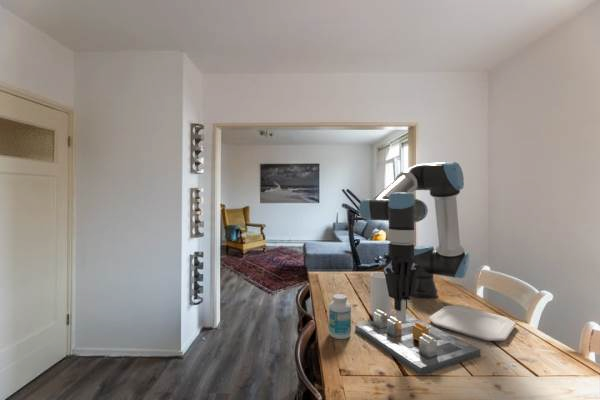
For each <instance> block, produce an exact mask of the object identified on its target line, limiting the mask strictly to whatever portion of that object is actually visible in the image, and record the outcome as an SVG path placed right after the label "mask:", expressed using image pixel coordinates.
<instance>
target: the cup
mask: <svg viewBox="0 0 600 400" xmlns="http://www.w3.org/2000/svg"><path fill="white" fill-rule="evenodd" d="M392 299H393V298H391V297H389V294H388V289H387V284H386V278H385V274H384V272H372V273H370V315H371V316H372V317H374V312H376V310H377V309H378V310H380V311H382V312H384V313H385V314H387V318H389V317H390V316H392V314H393V313H392V308H393V307H392V305H393V304H392V303H393V302H392V301H393V300H392Z"/></svg>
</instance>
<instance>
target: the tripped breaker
mask: <svg viewBox="0 0 600 400" xmlns="http://www.w3.org/2000/svg"><path fill="white" fill-rule="evenodd" d="M423 333H424V334H426V335H428V336H429V328H428V327H426V326H425V325H423V324H421V323H419V322H415V325H413V338H414V339H416V340H418V341H419V337H422V334H423Z"/></svg>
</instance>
